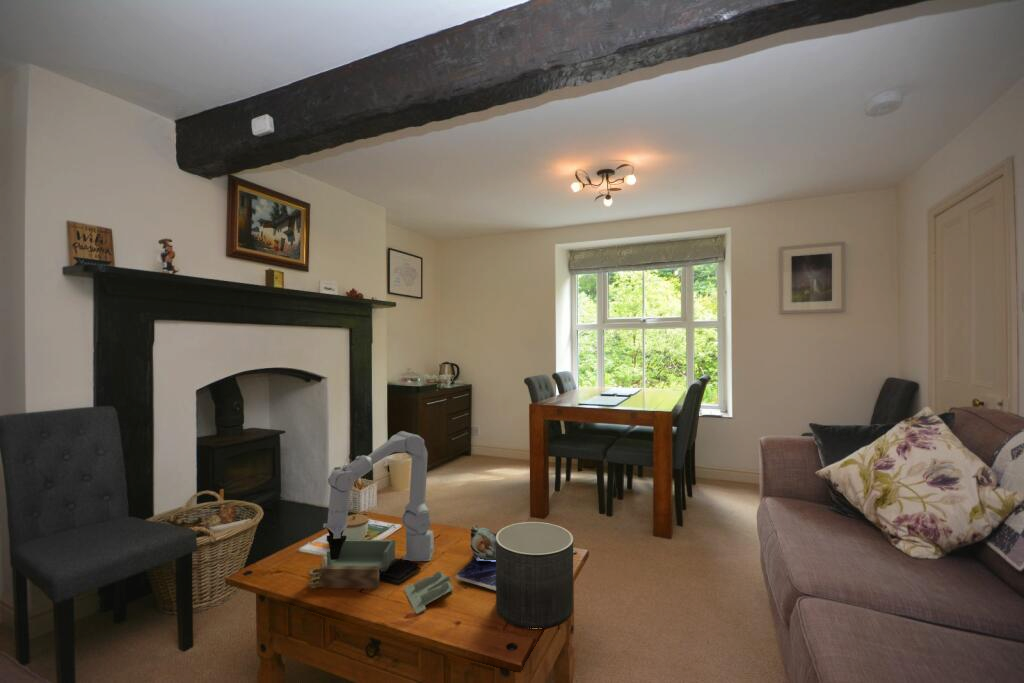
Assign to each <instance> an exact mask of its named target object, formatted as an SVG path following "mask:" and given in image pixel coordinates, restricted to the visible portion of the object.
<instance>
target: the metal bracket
mask: <svg viewBox="0 0 1024 683" xmlns="http://www.w3.org/2000/svg"><path fill="white" fill-rule="evenodd" d="M403 589H404V590H405V592H406V594H405V595H406V597H407V596H408V597H407V599H408V598H409V599H408V601H409V603H410V605H411V608H414V611H415V613H416V614H417V615H419V614H421V613H423V612H424V611H426V610H427V607H426V606H427V605H428V604H430V603H431V602H433V601H435V600H437V599H439V598H441V597H443V596H444V595H446V594H447V593H448V594H449V593H451V594H453V590H455V588H454V586H453V584H452V583H451V576H449V575H447V576H446V574H444V572H443V571H441V572H440V570H437V571H436V572H435V573H434V574H433V575H431V576H428V577H424V578H422V579H420V580H419V581H417V582H415V583H414V584H412V583H411V584H409V585H406V586H405V587H403ZM404 590H403V591H404ZM414 611H413V612H414ZM416 614H415V615H416Z"/></svg>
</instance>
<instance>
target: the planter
mask: <svg viewBox="0 0 1024 683" xmlns="http://www.w3.org/2000/svg"><path fill="white" fill-rule="evenodd" d="M497 532H498V533H497V534H496V533H495V534H496V563H495V597H496V598H495V608H496V612H497V614H498V615H499V617H500V618H501V619H502V620H503V621H505V623H508V624H509V625H512V626H514V627H517V628H521V629H524V628H527V629H526V630H533V629H532V628H538V629H539V628H542V629H541V630H547V629H552V628H555V627H558V626H560V625H562V624H564V623H566V621H568V620H569V619H570V617H571V616H572V614H573V611H574V536H573V534H572V533H571V531H569V530H567V529H566V528H564V527H562V526H560V525H556V524H553V523H548V522H542V521H541V522H540V521H525V522H518V523H513V524H510V525H507V526H504V527H503V528H501V529H500V530H498V531H497ZM528 628H529V629H528ZM530 628H531V629H530Z"/></svg>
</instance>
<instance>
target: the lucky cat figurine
mask: <svg viewBox="0 0 1024 683" xmlns="http://www.w3.org/2000/svg"><path fill="white" fill-rule="evenodd" d="M470 531H471V532H470V550H471V552H472V556H473V557H474V559H475V558H476V557H479V558H480V559H484V560H496V534H497V533H498V532H499V531H496V532H492V531H491V530H490V529H488V528H487V527H479V528H478V526H477V525H473V526H472V528H471V530H470Z"/></svg>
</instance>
